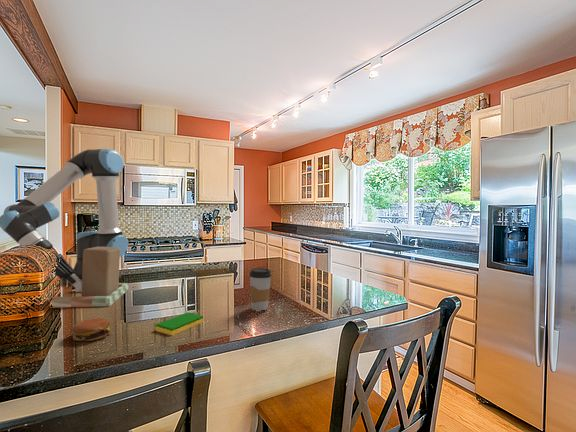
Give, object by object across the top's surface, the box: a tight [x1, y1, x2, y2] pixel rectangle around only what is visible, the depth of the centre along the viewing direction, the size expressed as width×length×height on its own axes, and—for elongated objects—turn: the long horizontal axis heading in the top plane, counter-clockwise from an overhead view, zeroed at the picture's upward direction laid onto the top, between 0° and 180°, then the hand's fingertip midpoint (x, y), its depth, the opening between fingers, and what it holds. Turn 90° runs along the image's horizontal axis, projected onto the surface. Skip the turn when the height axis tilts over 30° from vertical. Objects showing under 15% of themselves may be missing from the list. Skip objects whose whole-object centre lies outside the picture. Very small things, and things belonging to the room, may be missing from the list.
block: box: [81, 246, 121, 296], centre depth 130 cm, size 10×10×20 cm
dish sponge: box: [155, 312, 204, 336], centre depth 104 cm, size 7×14×2 cm, turn 153°
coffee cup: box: [249, 267, 272, 312], centre depth 123 cm, size 8×8×15 cm
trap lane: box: [52, 282, 129, 308], centre depth 130 cm, size 24×20×3 cm
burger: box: [72, 317, 111, 342], centre depth 93 cm, size 10×9×5 cm
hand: (82, 287), depth 129 cm, fingers closed
